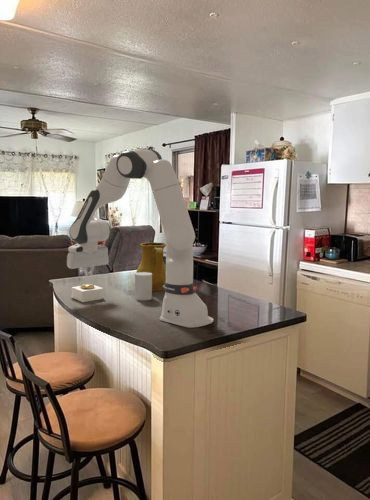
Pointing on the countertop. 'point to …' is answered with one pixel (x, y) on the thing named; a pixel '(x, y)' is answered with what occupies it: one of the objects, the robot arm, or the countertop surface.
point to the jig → (87, 293)
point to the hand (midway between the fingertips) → (88, 275)
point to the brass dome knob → (87, 286)
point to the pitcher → (153, 263)
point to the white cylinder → (143, 286)
